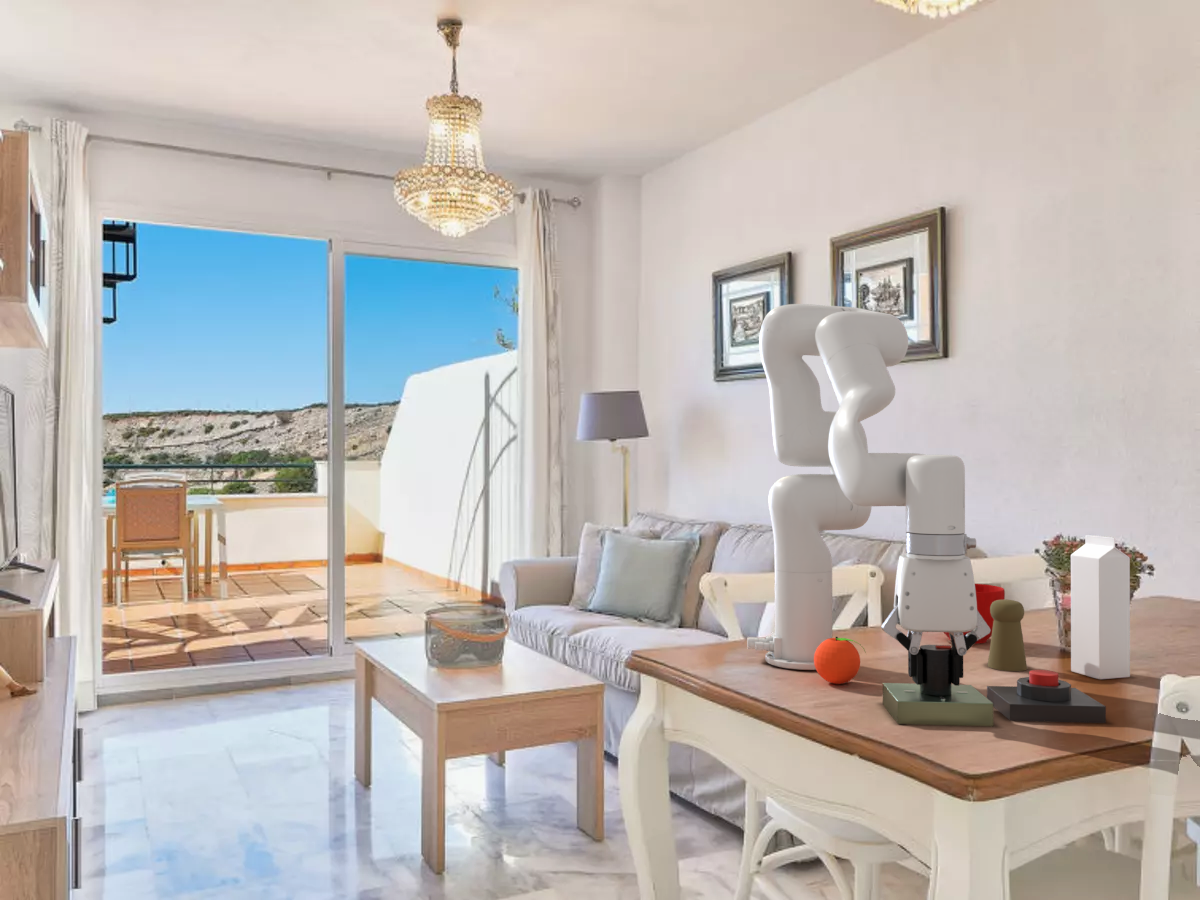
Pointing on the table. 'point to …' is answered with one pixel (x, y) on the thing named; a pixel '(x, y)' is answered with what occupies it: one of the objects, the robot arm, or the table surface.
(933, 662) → the cylinder
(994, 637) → the cork
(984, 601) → the ceramic cup
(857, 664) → the clementine
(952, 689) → the dial panel
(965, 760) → the table surface
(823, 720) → the table surface
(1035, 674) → the button
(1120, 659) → the milk
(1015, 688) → the switch block
